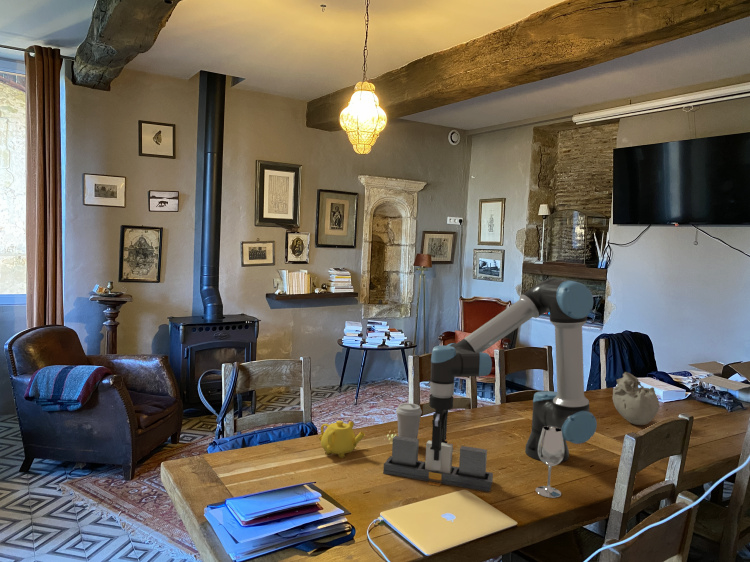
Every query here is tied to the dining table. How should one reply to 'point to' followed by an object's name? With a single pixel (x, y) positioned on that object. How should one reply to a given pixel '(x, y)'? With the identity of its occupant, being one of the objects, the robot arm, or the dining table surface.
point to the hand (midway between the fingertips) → (437, 466)
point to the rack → (408, 466)
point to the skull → (635, 400)
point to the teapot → (339, 438)
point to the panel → (445, 457)
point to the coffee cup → (408, 420)
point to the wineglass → (550, 456)
